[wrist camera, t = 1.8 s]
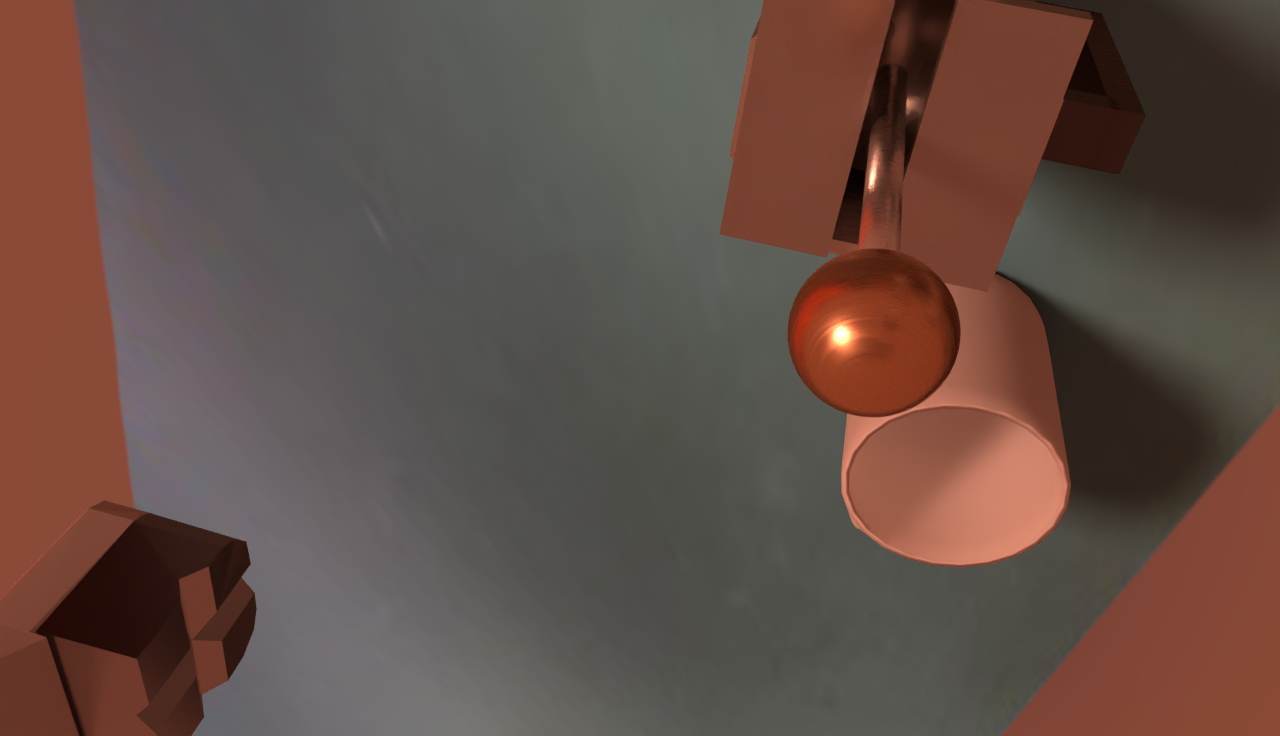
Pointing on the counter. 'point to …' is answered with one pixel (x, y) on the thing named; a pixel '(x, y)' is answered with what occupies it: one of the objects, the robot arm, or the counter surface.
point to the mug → (968, 446)
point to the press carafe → (922, 125)
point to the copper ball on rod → (882, 254)
